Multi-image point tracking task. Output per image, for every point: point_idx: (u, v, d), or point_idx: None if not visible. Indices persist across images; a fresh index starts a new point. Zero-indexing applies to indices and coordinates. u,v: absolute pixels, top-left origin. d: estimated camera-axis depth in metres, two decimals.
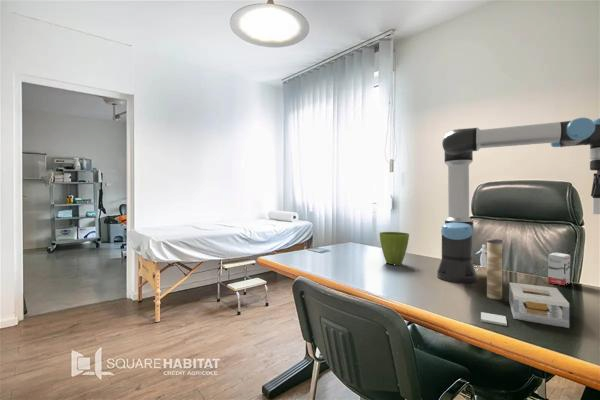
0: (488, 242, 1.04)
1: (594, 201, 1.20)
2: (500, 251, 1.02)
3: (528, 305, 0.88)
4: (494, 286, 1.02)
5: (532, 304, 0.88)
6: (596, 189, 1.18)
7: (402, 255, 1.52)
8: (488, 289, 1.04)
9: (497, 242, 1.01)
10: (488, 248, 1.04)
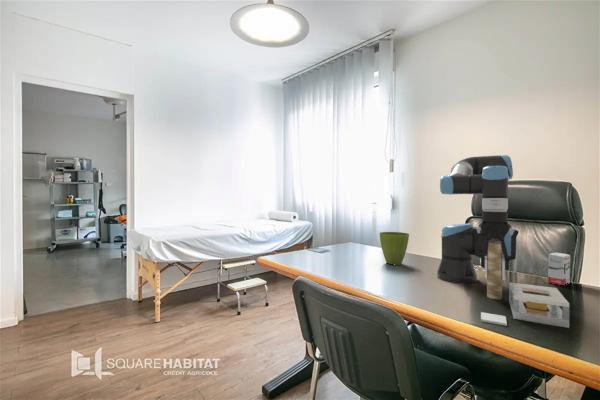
0: (488, 242, 1.04)
1: None
2: (500, 251, 1.02)
3: (528, 305, 0.88)
4: (494, 286, 1.02)
5: (532, 304, 0.88)
6: None
7: (402, 255, 1.52)
8: (488, 289, 1.04)
9: (497, 242, 1.01)
10: (488, 248, 1.04)
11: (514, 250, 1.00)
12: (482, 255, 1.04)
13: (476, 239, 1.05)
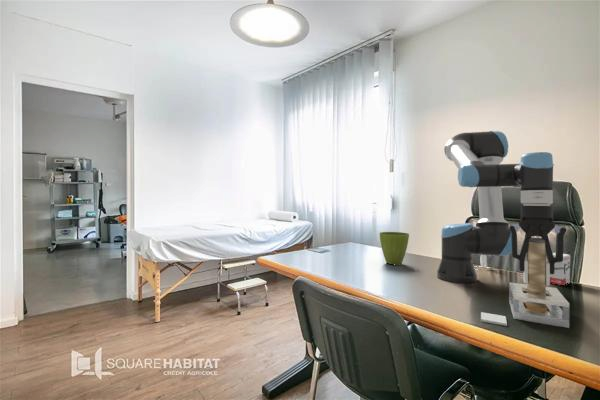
0: (529, 241, 0.89)
1: None
2: (544, 252, 0.87)
3: None
4: (536, 293, 0.87)
5: None
6: None
7: (402, 255, 1.52)
8: None
9: (540, 241, 0.87)
10: (529, 248, 0.89)
11: (561, 251, 0.85)
12: (521, 257, 0.90)
13: (514, 238, 0.91)
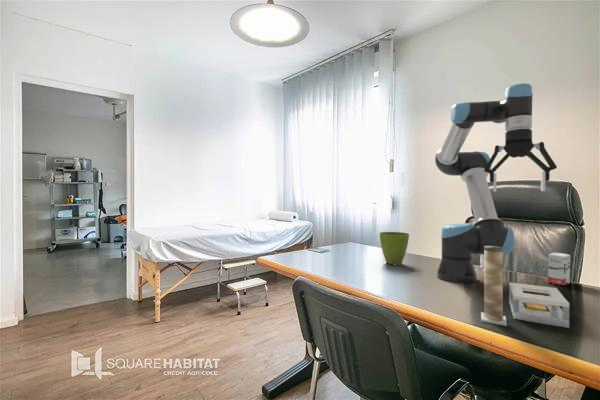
0: (485, 250, 0.84)
1: (541, 176, 1.02)
2: (500, 261, 0.82)
3: None
4: (493, 305, 0.83)
5: None
6: (534, 161, 1.03)
7: (402, 255, 1.52)
8: (486, 308, 0.84)
9: (496, 250, 0.82)
10: (485, 257, 0.84)
11: (551, 159, 0.99)
12: (492, 169, 1.07)
13: (493, 156, 1.07)
